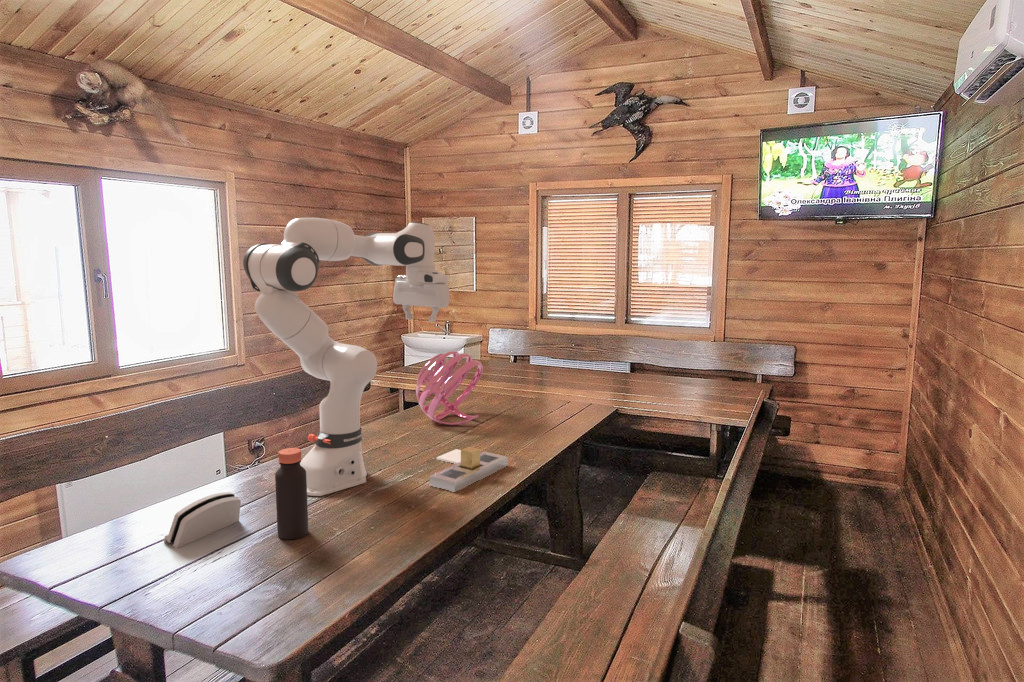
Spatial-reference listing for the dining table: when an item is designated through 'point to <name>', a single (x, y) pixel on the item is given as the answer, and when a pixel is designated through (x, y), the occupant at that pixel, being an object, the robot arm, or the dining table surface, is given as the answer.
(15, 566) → the dining table surface
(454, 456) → the pad
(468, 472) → the rail
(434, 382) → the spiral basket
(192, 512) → the napkin holder
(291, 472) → the bottle
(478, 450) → the block
